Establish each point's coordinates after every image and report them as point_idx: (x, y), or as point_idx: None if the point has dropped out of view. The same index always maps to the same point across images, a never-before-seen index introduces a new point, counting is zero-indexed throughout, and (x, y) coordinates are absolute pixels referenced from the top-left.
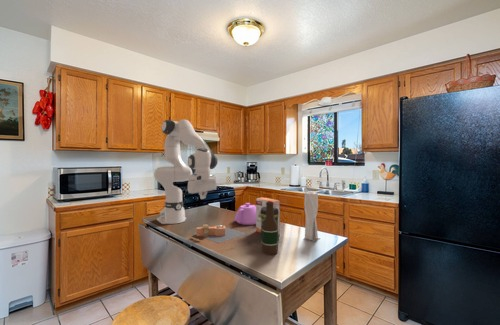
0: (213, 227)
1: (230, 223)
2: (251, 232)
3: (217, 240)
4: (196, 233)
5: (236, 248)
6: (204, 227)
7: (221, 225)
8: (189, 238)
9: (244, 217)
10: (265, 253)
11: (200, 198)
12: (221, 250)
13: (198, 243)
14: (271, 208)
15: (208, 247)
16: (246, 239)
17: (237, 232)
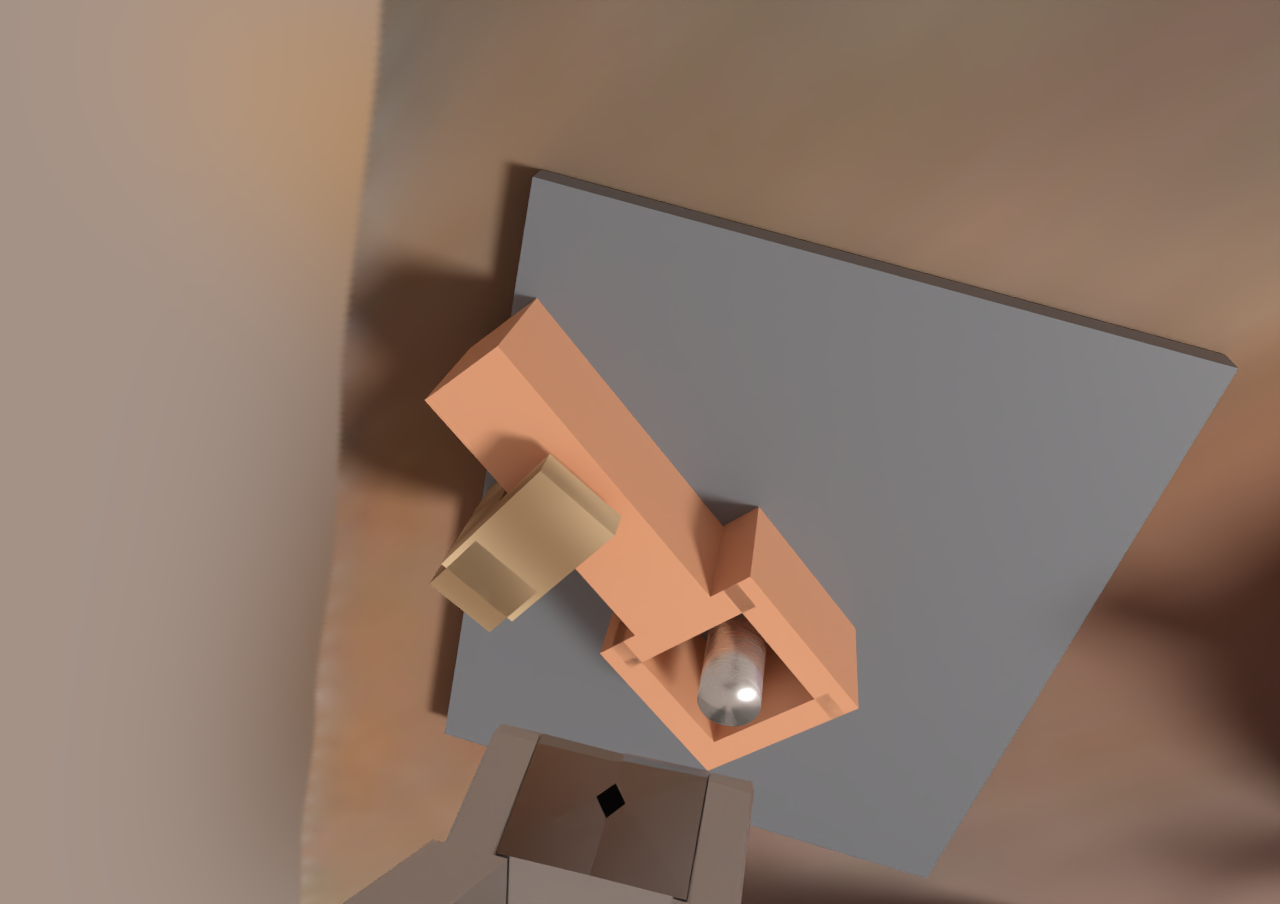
0: (655, 603)
1: None
2: (1071, 871)
3: (503, 687)
4: (560, 257)
5: None
6: (434, 587)
7: (735, 723)
8: (389, 250)
9: None
10: None
11: (499, 743)
12: (365, 789)
13: (341, 496)
14: None
15: (335, 657)
16: (774, 886)
17: (920, 773)
